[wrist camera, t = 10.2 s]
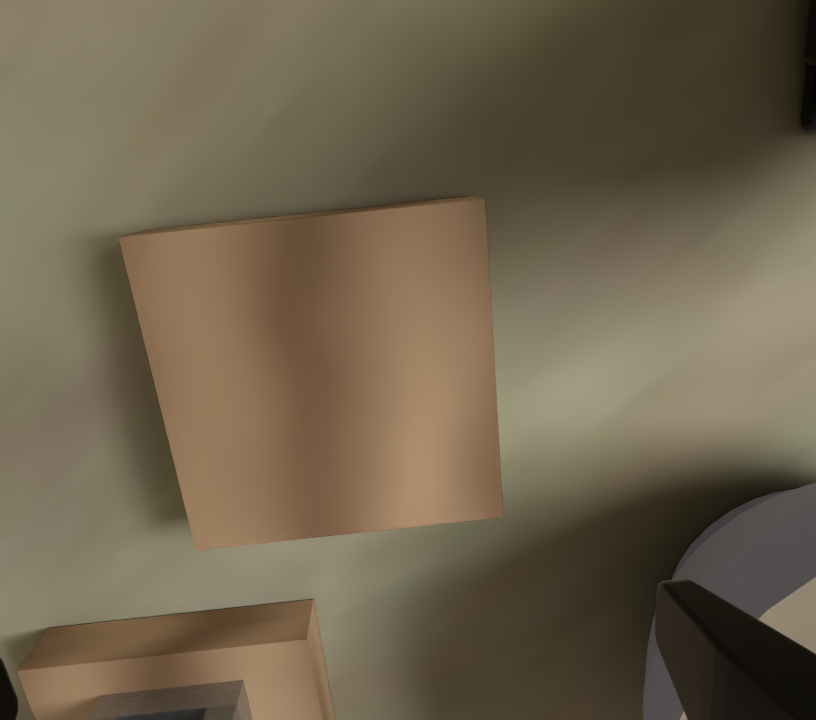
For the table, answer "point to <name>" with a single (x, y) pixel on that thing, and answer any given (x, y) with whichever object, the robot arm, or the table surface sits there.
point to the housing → (177, 703)
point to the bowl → (749, 578)
